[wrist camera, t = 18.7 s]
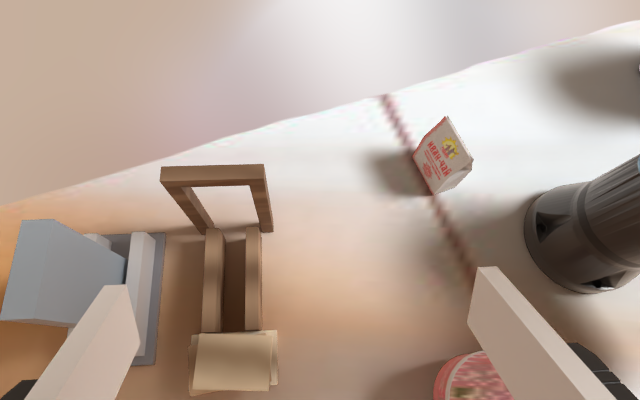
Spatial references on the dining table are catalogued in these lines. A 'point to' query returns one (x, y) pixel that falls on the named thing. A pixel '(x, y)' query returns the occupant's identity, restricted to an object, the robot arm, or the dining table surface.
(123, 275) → the slate board
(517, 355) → the robot arm
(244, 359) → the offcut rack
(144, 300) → the slot stand
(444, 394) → the container
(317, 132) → the dining table surface
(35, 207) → the dining table surface
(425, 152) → the tea bag
